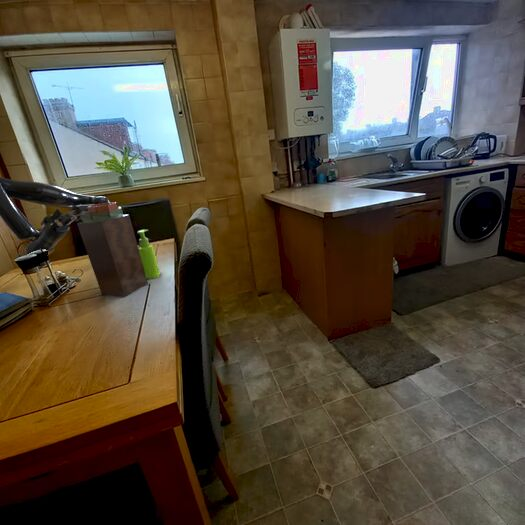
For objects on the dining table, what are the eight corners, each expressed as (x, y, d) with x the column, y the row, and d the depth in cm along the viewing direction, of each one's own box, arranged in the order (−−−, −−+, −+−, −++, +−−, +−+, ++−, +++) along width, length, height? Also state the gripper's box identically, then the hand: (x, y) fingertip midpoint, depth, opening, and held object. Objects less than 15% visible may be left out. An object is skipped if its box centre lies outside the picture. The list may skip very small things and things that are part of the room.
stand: (125, 280, 118) (103, 207, 107) (149, 282, 113) (128, 206, 102) (99, 295, 106) (71, 215, 95) (125, 297, 102) (98, 213, 91)
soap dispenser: (163, 271, 123) (152, 227, 116) (156, 278, 116) (144, 232, 109) (151, 272, 124) (139, 229, 116) (143, 279, 117) (130, 233, 110)
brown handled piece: (83, 214, 109) (80, 204, 107) (124, 212, 101) (121, 201, 100) (61, 220, 101) (57, 208, 100) (104, 218, 93) (100, 205, 92)
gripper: (29, 227, 105) (44, 203, 97) (65, 218, 117) (82, 197, 109) (42, 243, 106) (58, 221, 98) (77, 233, 118) (94, 213, 110)
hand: (71, 208), depth 104 cm, fingers open, 8 cm apart
